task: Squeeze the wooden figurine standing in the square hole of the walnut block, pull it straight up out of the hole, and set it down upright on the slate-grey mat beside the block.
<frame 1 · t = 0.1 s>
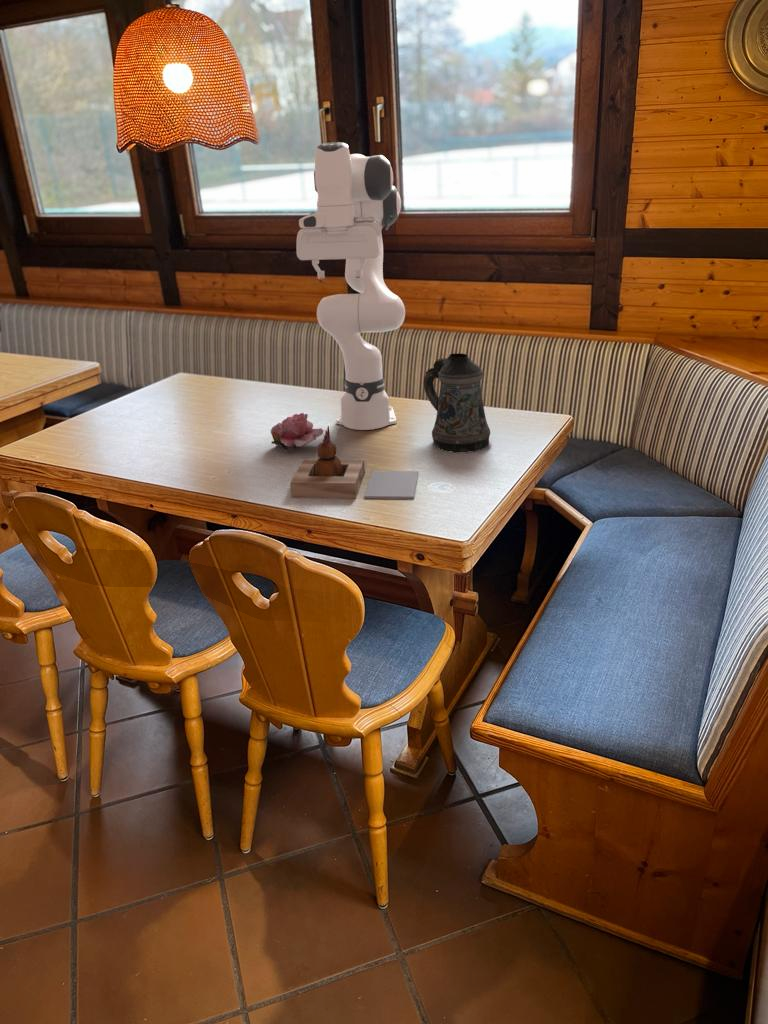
hand: (340, 278, 185), 48 cm above the table, tool pointing down, fingers open, 8 cm apart
wooden figurine: (329, 485, 191), resting in walnut socket block
beer stein: (455, 443, 215), on the table
slate mat: (392, 485, 189), on the table
walnut socket block: (329, 484, 191), on the table
flower: (297, 449, 216), on the table
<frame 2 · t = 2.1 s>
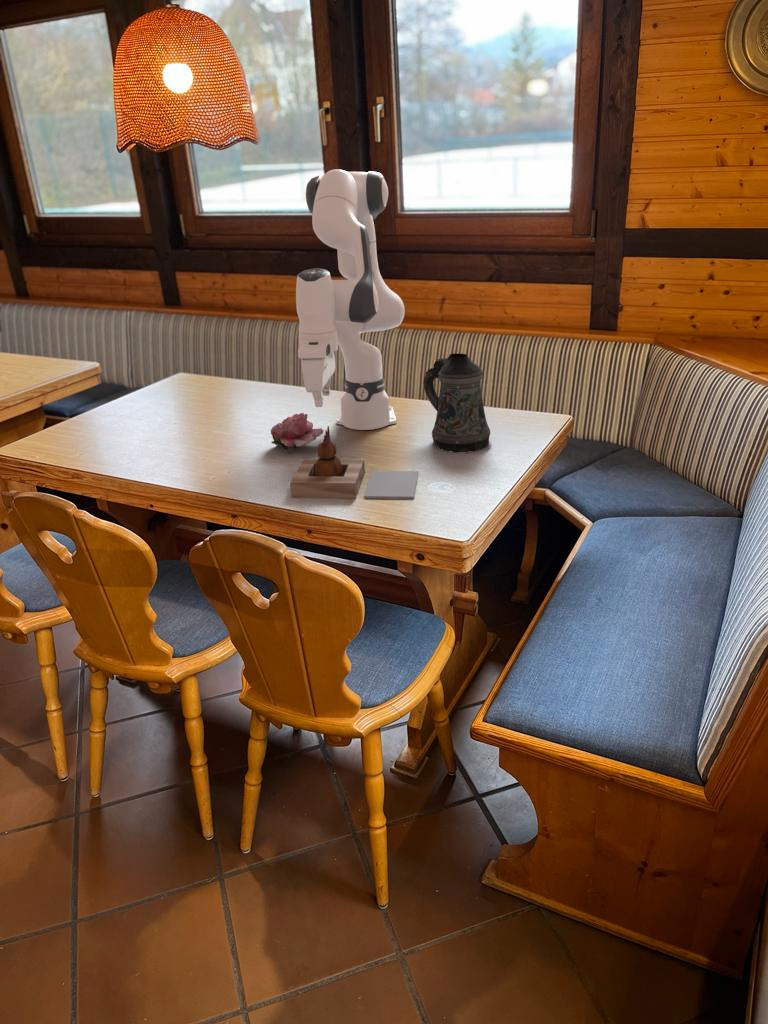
hand: (323, 400, 181), 22 cm above the table, tool pointing down, fingers open, 8 cm apart
nothing on the table moved.
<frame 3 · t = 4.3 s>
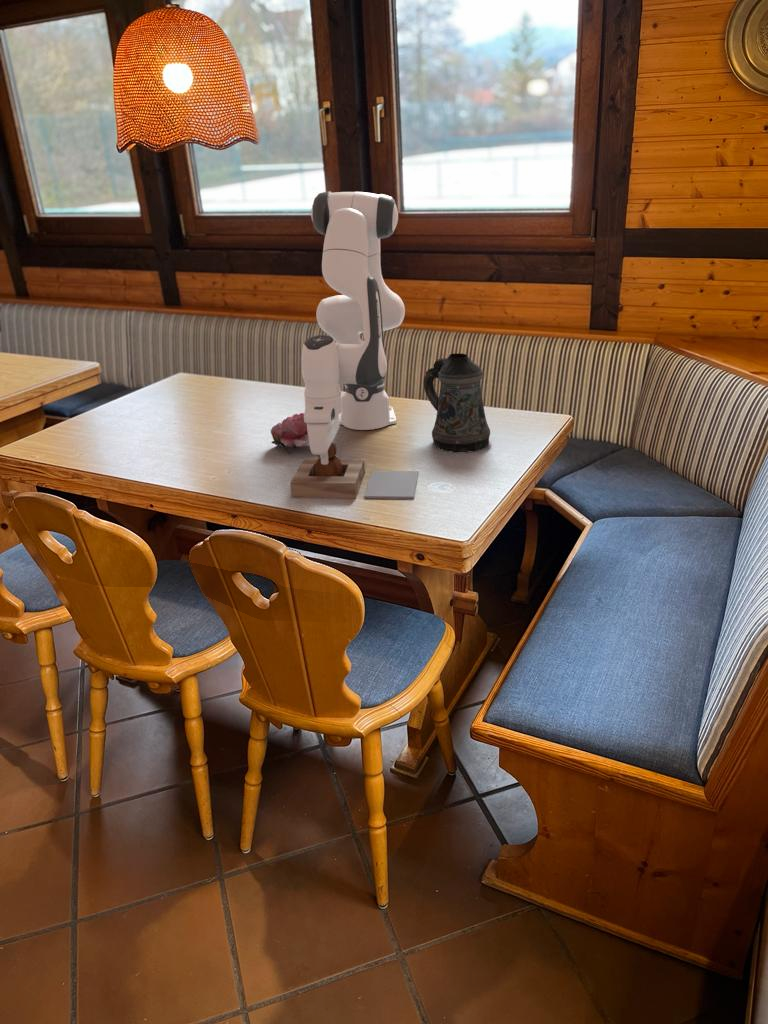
hand: (327, 458, 188), 7 cm above the table, tool pointing down, fingers closed on wooden figurine, 5 cm apart
wooden figurine: (329, 485, 191), resting in walnut socket block, touching gripper
everything else where it was.
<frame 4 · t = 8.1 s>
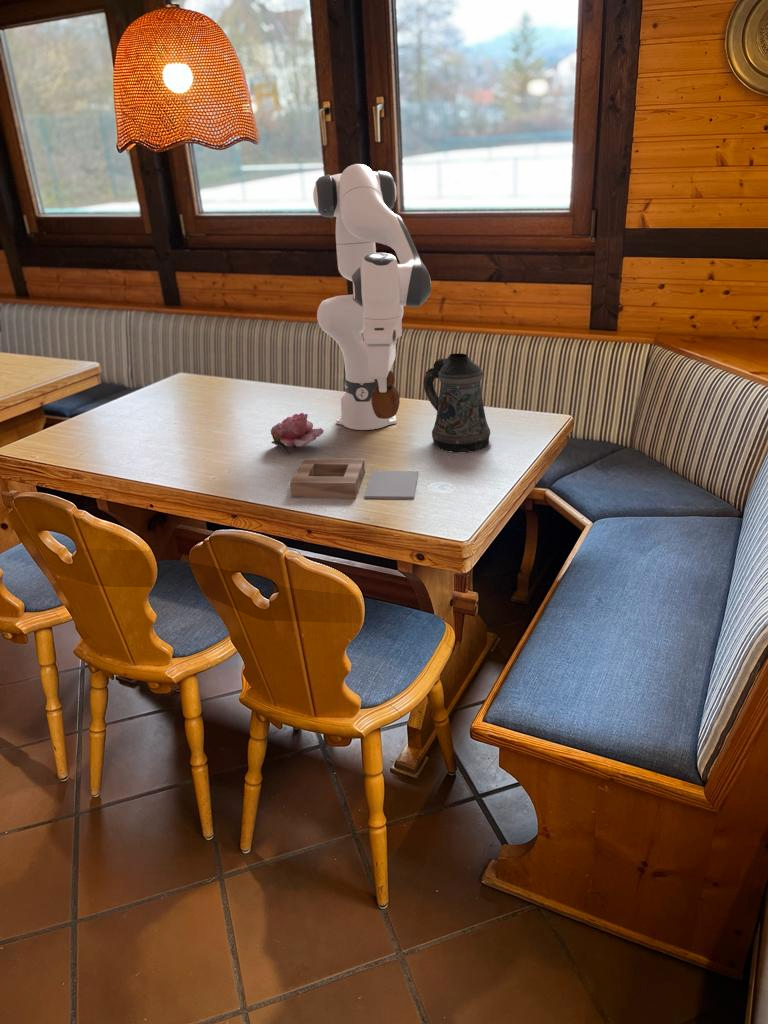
hand: (384, 387, 178), 25 cm above the table, tool pointing down, fingers closed on wooden figurine, 5 cm apart
wooden figurine: (385, 417, 181), point 18 cm above the table, touching gripper
everything else where it was.
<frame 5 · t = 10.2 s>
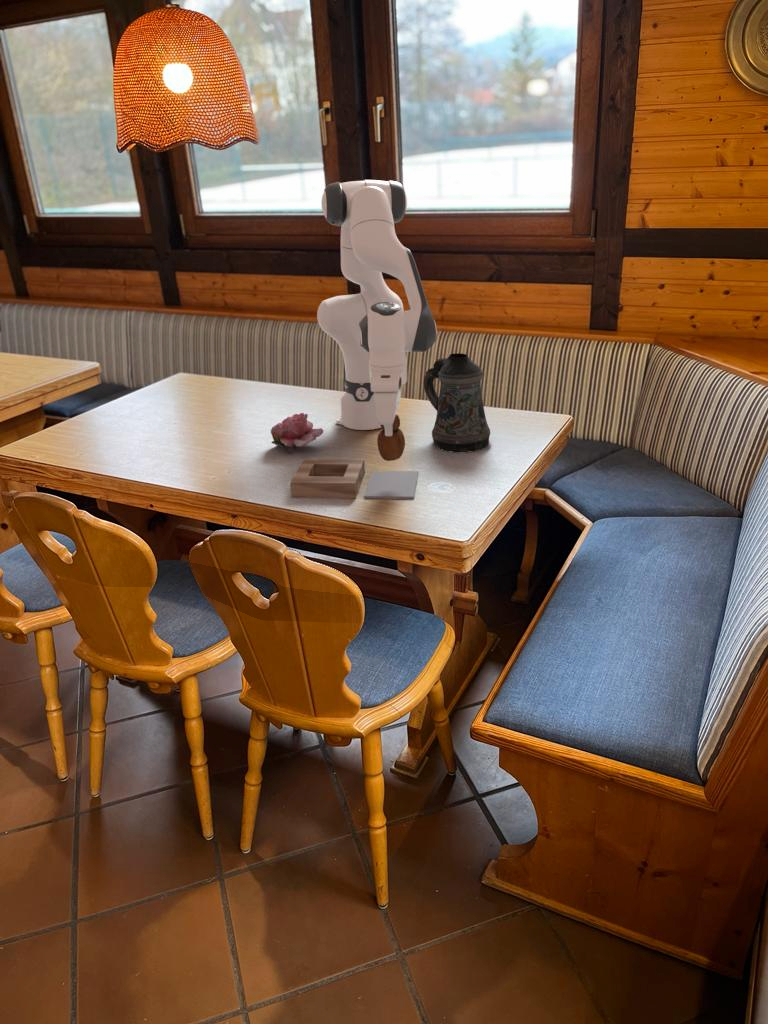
hand: (390, 430, 183), 14 cm above the table, tool pointing down, fingers closed on wooden figurine, 5 cm apart
wooden figurine: (391, 459, 186), point 7 cm above the table, touching gripper
everything else where it was.
when the fingers open (9 cm above the table, at t = 12.0 s): wooden figurine drops 2 cm, resting on slate mat.
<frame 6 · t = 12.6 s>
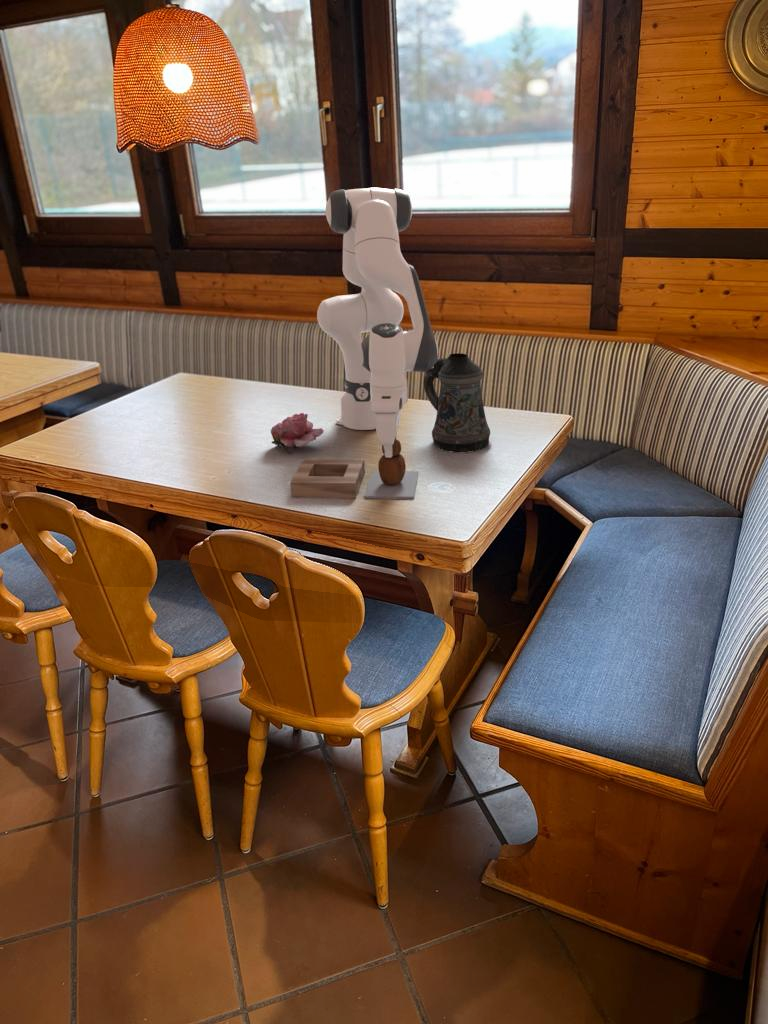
hand: (391, 449, 185), 10 cm above the table, tool pointing down, fingers open, 8 cm apart
wooden figurine: (392, 483, 189), resting on slate mat
everything else where it was.
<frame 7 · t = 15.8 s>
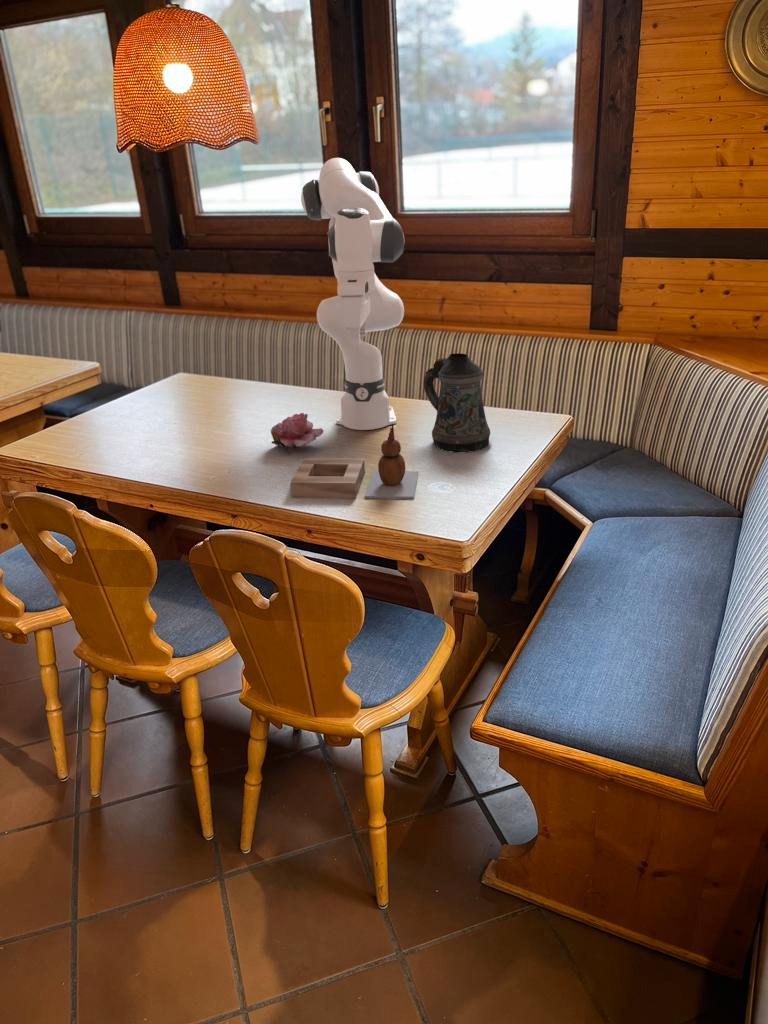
hand: (359, 340, 184), 34 cm above the table, tool pointing down, fingers open, 8 cm apart
nothing on the table moved.
at the end: wooden figurine inside the target area on the slate mat (0.0 cm from its centre), point 0.4 cm above the slate mat's base; wooden figurine tilted 0°; the gripper is holding nothing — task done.
